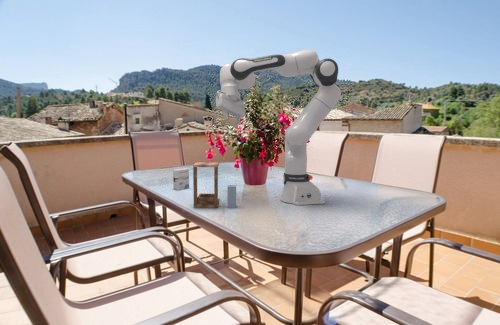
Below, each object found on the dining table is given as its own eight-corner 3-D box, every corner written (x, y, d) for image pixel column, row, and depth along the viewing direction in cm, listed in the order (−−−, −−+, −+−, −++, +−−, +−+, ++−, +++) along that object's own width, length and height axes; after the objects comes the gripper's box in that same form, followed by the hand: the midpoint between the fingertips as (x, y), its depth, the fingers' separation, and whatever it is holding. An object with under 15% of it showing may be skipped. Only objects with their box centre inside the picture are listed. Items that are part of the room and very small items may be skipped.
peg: (236, 205, 143) (236, 184, 141) (236, 207, 139) (236, 186, 137) (227, 205, 142) (227, 184, 141) (227, 207, 138) (227, 186, 137)
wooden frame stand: (219, 200, 152) (219, 161, 149) (217, 207, 138) (217, 165, 135) (197, 200, 151) (197, 161, 149) (193, 207, 137) (193, 164, 135)
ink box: (183, 186, 183) (183, 167, 181) (189, 188, 180) (189, 168, 178) (172, 189, 176) (172, 169, 174) (178, 190, 173) (178, 170, 172)
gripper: (222, 86, 140) (224, 114, 137) (246, 100, 157) (248, 124, 154) (211, 91, 144) (213, 118, 141) (236, 103, 161) (238, 127, 158)
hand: (232, 121), depth 148 cm, fingers open, 8 cm apart
